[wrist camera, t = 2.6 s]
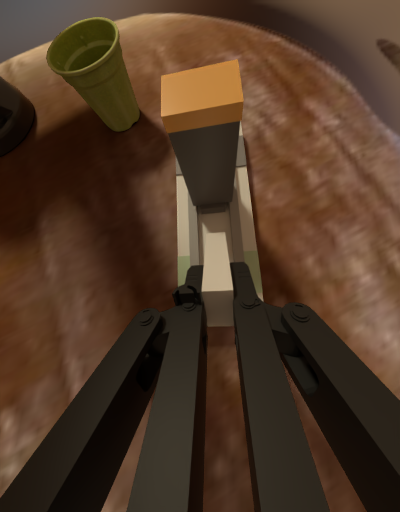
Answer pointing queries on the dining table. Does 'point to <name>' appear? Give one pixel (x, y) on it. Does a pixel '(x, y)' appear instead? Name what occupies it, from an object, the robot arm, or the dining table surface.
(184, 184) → the board
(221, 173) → the handle
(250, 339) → the robot arm
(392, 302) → the dining table surface
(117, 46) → the plant pot
